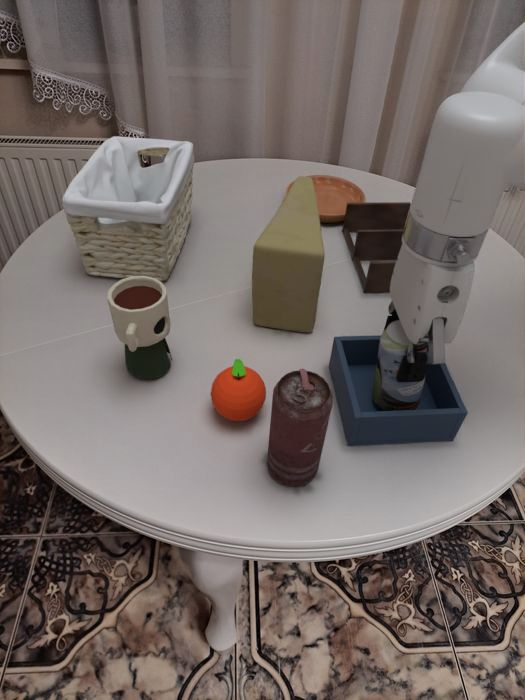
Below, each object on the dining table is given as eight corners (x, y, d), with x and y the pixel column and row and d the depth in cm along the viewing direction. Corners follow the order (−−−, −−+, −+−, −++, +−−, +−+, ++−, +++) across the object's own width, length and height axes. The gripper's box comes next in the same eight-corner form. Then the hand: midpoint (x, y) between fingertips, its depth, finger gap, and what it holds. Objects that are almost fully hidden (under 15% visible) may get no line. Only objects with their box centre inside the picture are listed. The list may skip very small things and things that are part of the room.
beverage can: (387, 427, 64) (408, 365, 55) (356, 385, 69) (371, 322, 60) (428, 410, 66) (454, 348, 57) (395, 371, 71) (415, 307, 62)
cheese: (272, 246, 93) (277, 167, 82) (325, 253, 92) (337, 174, 82) (249, 326, 78) (252, 242, 67) (312, 335, 77) (325, 252, 66)
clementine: (211, 384, 69) (209, 347, 64) (262, 383, 70) (264, 346, 65) (211, 433, 63) (209, 396, 58) (267, 431, 64) (269, 395, 59)
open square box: (420, 362, 74) (431, 333, 69) (453, 441, 64) (468, 412, 60) (328, 365, 72) (334, 336, 68) (347, 446, 63) (355, 417, 59)
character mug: (167, 397, 67) (157, 324, 58) (114, 393, 67) (95, 320, 58) (181, 340, 75) (174, 268, 66) (133, 336, 75) (119, 264, 66)
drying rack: (402, 230, 99) (410, 202, 95) (433, 291, 85) (444, 262, 81) (342, 230, 98) (346, 202, 94) (363, 293, 84) (370, 263, 80)
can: (310, 439, 63) (324, 362, 53) (323, 484, 59) (341, 409, 49) (262, 445, 62) (268, 368, 53) (272, 491, 58) (280, 417, 48)
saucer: (368, 229, 98) (371, 215, 96) (285, 226, 98) (287, 212, 96) (357, 189, 110) (360, 176, 108) (284, 186, 109) (285, 173, 107)
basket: (119, 207, 101) (106, 132, 90) (200, 214, 100) (196, 139, 89) (77, 281, 84) (55, 199, 73) (175, 289, 83) (166, 208, 73)
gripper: (518, 287, 44) (454, 414, 57) (450, 189, 56) (410, 312, 69) (434, 288, 44) (389, 416, 56) (384, 189, 56) (356, 314, 68)
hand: (401, 358), depth 63 cm, fingers closed on beverage can, 6 cm apart
